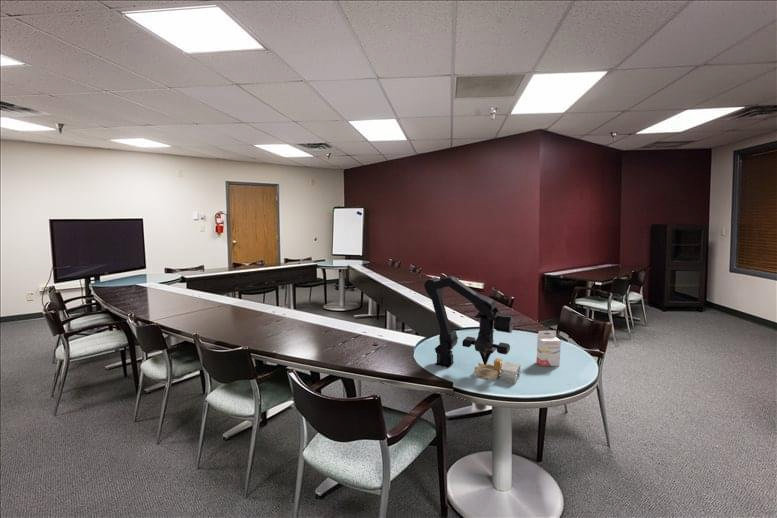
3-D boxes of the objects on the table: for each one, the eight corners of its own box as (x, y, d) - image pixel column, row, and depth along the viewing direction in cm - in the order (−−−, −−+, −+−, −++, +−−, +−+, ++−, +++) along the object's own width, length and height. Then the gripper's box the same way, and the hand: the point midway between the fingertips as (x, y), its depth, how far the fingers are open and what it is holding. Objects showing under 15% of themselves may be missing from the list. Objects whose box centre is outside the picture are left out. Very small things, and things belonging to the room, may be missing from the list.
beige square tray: (473, 375, 158) (473, 368, 158) (480, 366, 167) (480, 360, 166) (495, 380, 153) (496, 373, 153) (502, 371, 162) (502, 364, 161)
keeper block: (500, 380, 154) (500, 368, 153) (505, 372, 160) (505, 361, 160) (515, 383, 150) (515, 371, 150) (520, 375, 157) (520, 364, 156)
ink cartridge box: (540, 366, 166) (542, 334, 164) (536, 362, 171) (537, 330, 168) (560, 366, 166) (561, 333, 164) (554, 361, 171) (556, 329, 169)
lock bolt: (493, 373, 157) (494, 360, 156) (495, 370, 160) (496, 358, 159) (513, 377, 153) (513, 364, 152) (515, 374, 156) (515, 362, 155)
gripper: (457, 330, 156) (457, 366, 158) (503, 338, 146) (502, 377, 149) (467, 323, 165) (466, 357, 168) (511, 330, 156) (509, 366, 158)
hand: (485, 364), depth 160 cm, fingers closed
